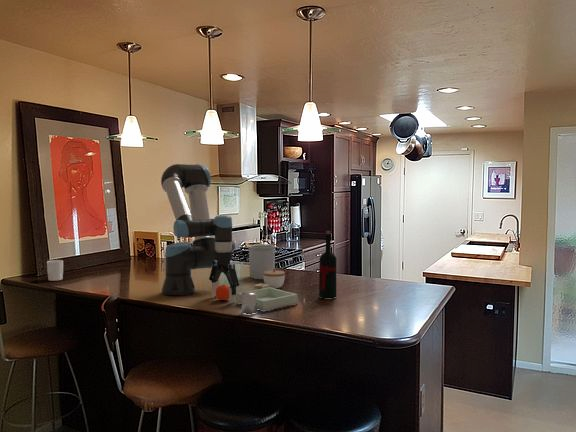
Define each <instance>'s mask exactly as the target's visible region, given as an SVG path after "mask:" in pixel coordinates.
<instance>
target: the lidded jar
mask: <svg viewBox="0 0 576 432" xmlns="http://www.w3.org/2000/svg"><path fill="white" fill-rule="evenodd" d="M263 275H264V279H263V282H264V284H268V285H269V287H271V288H279V287H280V288H281V287H282V286H283V285H284V282H285V279H286V277H285V276H286V272H285V271H283V270H277V269H276V268H275V269H273V270H270V271H265V272H263ZM280 288H279V289H280Z"/></svg>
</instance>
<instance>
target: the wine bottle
mask: <svg viewBox="0 0 576 432" xmlns="http://www.w3.org/2000/svg"><path fill="white" fill-rule="evenodd" d="M331 235H332V234H331V230H325V252H323V253H322V254H321V255H320V257H319V265H318V266H319V269H318V270H319V272H318V273H319V276H318V277H319V278H318V281H319V282H318V297H319V296H320V297H322V298H334V297H336V298H337V257H336V255H335V253H333V252H331V250H332V249H331V248H332V247H331V245H332V244H331V241H332V240H331Z"/></svg>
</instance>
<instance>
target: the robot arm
mask: <svg viewBox="0 0 576 432" xmlns="http://www.w3.org/2000/svg"><path fill="white" fill-rule="evenodd" d="M211 176H212V175H211V173H210V170H209V168H208V167H207V165H203V164H198V163H197V164H183V163H182V164H180V163H175V164H172V165H169V167H167V168H166V169H164V171H163V172H162V175H161V178H160V183H161V184H160V185H161V187H162V188H161V189H163V192H166V195H167V198H168V201H169V204H170V207H171V210H172V213H173V216H174V218H175V221H174V222H173V226H172V227H173V233H174V236H175V237H177V238H194V239H193V241H192V243H191V242H190V241H182V242H181V241H180V242H173V243H171V244H168V245H167V246H166V247H165V250H164V251H165V254H164V258H165V261H164V262H165V264H164V265H165V271H164V272H165V277H164V281H163V284H162V287H161V294H162V295H163V294H164V296H167V295H183V296H187V295H186V294H189V295H192V294H191V293H193V294H195V293H196V287H195V284H194V281H193V277H192V270H197V269H198V270H200V269H211V270H210V273H209V278H208V280H209V281H210V282H211V285H212V286H211V288H212V293H211V294H212V298H216V297H215V296H216V289H217V288H218V287H219V278H220V277H221V276H222V273H223V275H225V277H226V279H227V281H228V284H229V299H228V301H229V303H230V302H233V303H236V302H237V300H236V298H237V297H236V296H237V287H240V282H239V281H240V280H239V278H238V274H237V271H236V264H235V263H231V261H232V260H233V219H232V216H231V215H216V216H215V217H214V218H211V217H210V212H209V207H208V200H207V191H208V189H209V187H211V180H212V177H211ZM183 188H184V190H183ZM184 192H185V193H184ZM185 194H187V195H188V199H189V200H187V198H186V195H185ZM188 201H189V203H188ZM235 301H236V302H235Z"/></svg>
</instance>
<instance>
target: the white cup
mask: <svg viewBox="0 0 576 432" xmlns="http://www.w3.org/2000/svg"><path fill="white" fill-rule="evenodd" d="M46 271H47V277H48V278H47V279H48V281H51V282H52V281H62V280H63V278H64V277H63V276H64V260H63V259H54V260H53V259H52V260H47V261H46Z"/></svg>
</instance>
